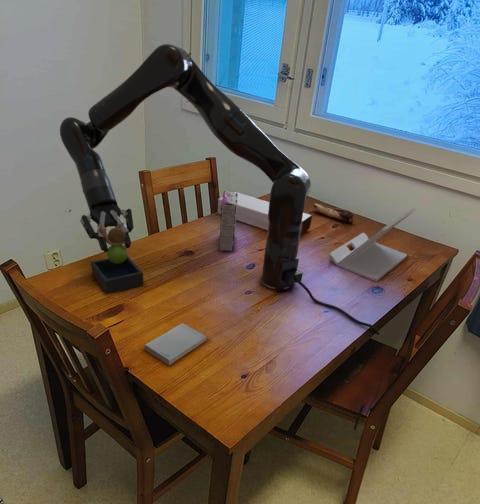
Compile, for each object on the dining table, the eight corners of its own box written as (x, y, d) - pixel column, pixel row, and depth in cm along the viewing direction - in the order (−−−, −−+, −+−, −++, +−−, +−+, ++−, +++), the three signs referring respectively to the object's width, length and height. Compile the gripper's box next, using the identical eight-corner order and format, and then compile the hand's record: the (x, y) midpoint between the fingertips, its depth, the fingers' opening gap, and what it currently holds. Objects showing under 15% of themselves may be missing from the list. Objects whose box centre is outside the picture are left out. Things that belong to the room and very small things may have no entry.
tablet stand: (407, 256, 159) (422, 210, 150) (376, 281, 143) (391, 231, 133) (360, 239, 168) (372, 194, 158) (326, 260, 151) (337, 211, 141)
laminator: (309, 230, 170) (312, 215, 167) (294, 241, 161) (297, 225, 158) (232, 206, 183) (233, 191, 180) (215, 214, 174) (216, 199, 171)
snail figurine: (103, 258, 128) (99, 218, 121) (126, 257, 130) (124, 217, 123) (104, 268, 124) (100, 227, 117) (128, 266, 126) (126, 226, 119)
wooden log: (359, 221, 183) (320, 206, 191) (362, 210, 181) (323, 195, 189) (348, 226, 177) (309, 211, 185) (351, 215, 174) (311, 200, 182)
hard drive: (169, 360, 101) (206, 336, 110) (143, 344, 105) (181, 321, 113) (169, 366, 102) (206, 341, 111) (144, 350, 106) (181, 327, 114)
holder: (143, 285, 129) (143, 272, 126) (106, 294, 124) (105, 280, 121) (127, 267, 136) (126, 254, 134) (92, 274, 131) (90, 261, 129)
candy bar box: (220, 236, 159) (223, 190, 150) (234, 237, 159) (238, 191, 150) (218, 250, 150) (221, 202, 141) (233, 252, 150) (237, 204, 141)
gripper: (73, 187, 117) (93, 249, 116) (126, 181, 124) (146, 239, 123) (69, 200, 124) (88, 259, 123) (120, 193, 131) (139, 249, 130)
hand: (117, 249), depth 123 cm, fingers closed on snail figurine, 5 cm apart
